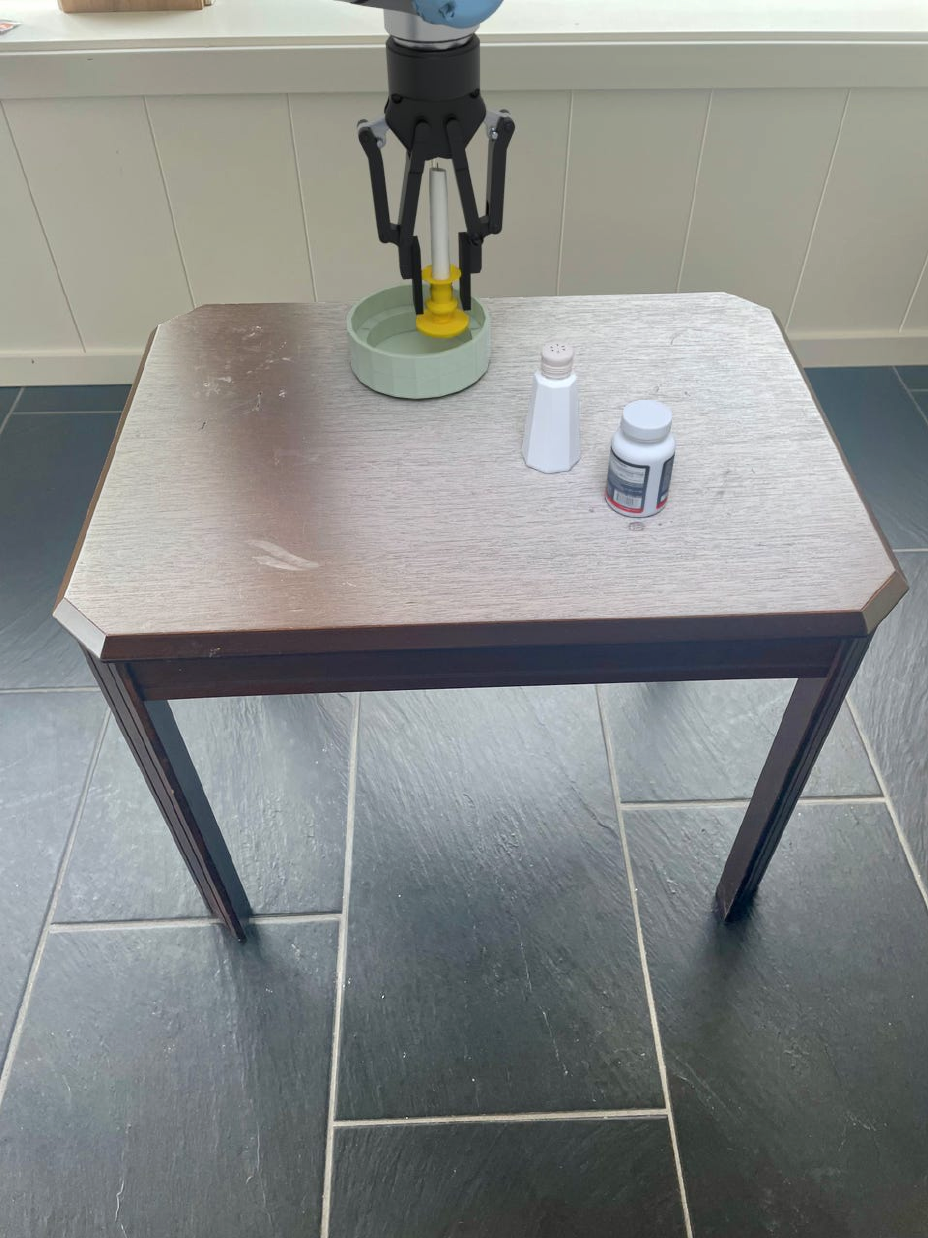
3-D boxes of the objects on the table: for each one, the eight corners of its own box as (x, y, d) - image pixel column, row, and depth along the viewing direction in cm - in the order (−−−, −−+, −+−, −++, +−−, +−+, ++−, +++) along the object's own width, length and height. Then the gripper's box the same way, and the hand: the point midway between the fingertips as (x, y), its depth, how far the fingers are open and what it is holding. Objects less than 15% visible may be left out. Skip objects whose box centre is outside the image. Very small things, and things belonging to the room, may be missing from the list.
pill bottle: (650, 474, 85) (663, 388, 79) (677, 511, 82) (693, 424, 75) (594, 487, 84) (604, 401, 78) (619, 524, 81) (632, 438, 74)
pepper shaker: (556, 430, 90) (563, 323, 82) (593, 460, 87) (604, 352, 78) (508, 451, 88) (511, 343, 80) (544, 482, 85) (551, 374, 76)
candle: (435, 305, 97) (429, 145, 86) (479, 319, 95) (478, 158, 84) (405, 329, 94) (395, 166, 83) (449, 344, 92) (445, 180, 81)
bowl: (356, 409, 92) (350, 363, 89) (347, 331, 102) (342, 287, 98) (500, 395, 94) (500, 350, 90) (478, 320, 103) (478, 276, 99)
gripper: (529, 12, 79) (521, 279, 96) (322, 25, 78) (352, 293, 95) (547, 42, 74) (535, 317, 91) (326, 56, 73) (356, 333, 90)
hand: (441, 304), depth 93 cm, fingers closed on candle, 4 cm apart
